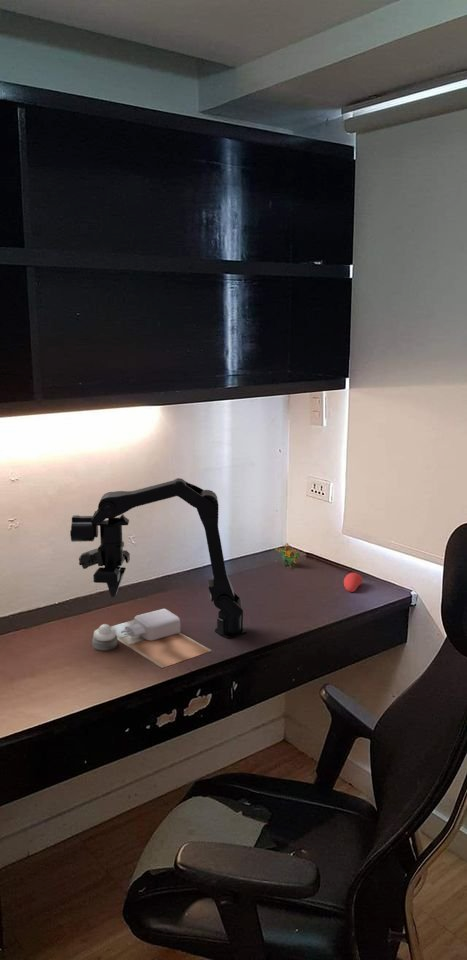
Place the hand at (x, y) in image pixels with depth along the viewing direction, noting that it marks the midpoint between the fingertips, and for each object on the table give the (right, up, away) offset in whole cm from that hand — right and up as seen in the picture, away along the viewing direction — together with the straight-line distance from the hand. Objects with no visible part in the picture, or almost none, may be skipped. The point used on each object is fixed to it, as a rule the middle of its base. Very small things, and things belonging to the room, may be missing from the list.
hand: (113, 596), depth 201 cm
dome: (-1, -10, -5) cm, 11 cm away
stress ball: (+70, -4, +38) cm, 80 cm away
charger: (+9, -11, +1) cm, 14 cm away
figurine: (+51, +1, +58) cm, 77 cm away
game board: (+8, -12, -4) cm, 15 cm away
